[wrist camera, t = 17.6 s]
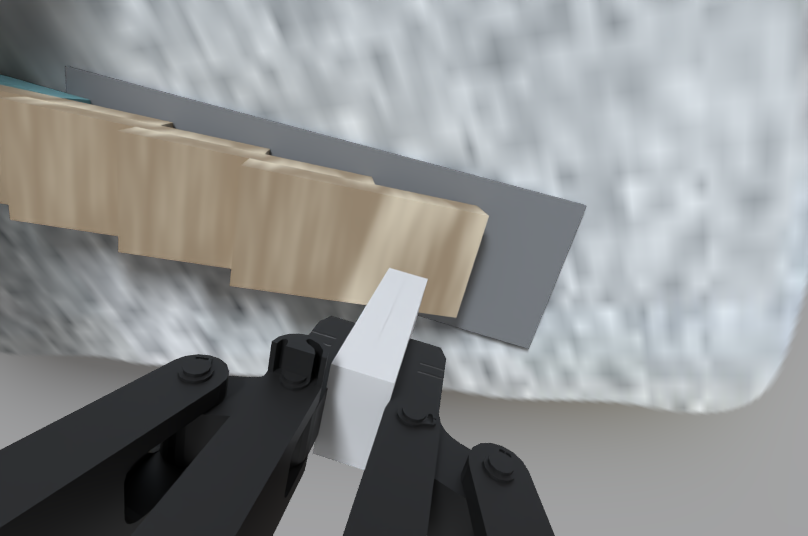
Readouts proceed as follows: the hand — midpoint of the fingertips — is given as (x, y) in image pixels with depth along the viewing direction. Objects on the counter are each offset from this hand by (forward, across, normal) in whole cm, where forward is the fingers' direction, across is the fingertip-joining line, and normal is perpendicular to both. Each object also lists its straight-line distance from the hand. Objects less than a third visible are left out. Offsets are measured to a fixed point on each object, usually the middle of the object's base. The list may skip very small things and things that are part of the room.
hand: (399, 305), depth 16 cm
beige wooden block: (+8, -10, 0) cm, 13 cm away
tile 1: (+8, +2, 0) cm, 8 cm away
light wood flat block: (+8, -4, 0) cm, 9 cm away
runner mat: (+9, -8, 0) cm, 12 cm away
